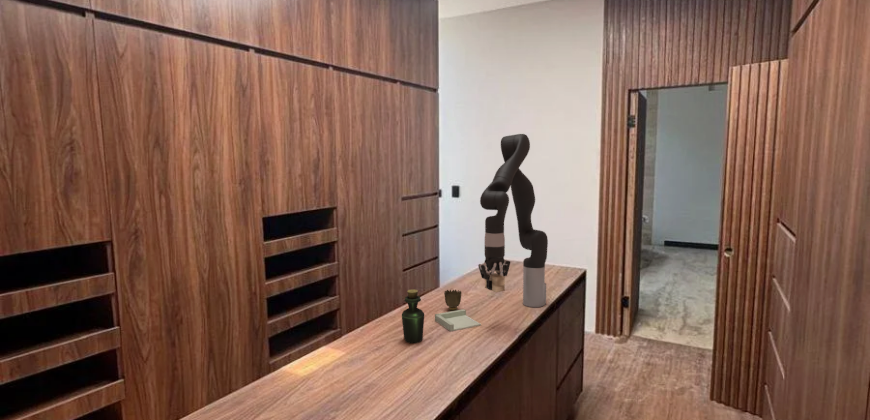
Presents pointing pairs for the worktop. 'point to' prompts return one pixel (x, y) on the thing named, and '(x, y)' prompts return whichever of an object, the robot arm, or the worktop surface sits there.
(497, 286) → the maple brick
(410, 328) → the potion bottle
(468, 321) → the corner tray
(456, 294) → the cup
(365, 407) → the worktop surface
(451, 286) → the worktop surface
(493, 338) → the worktop surface
